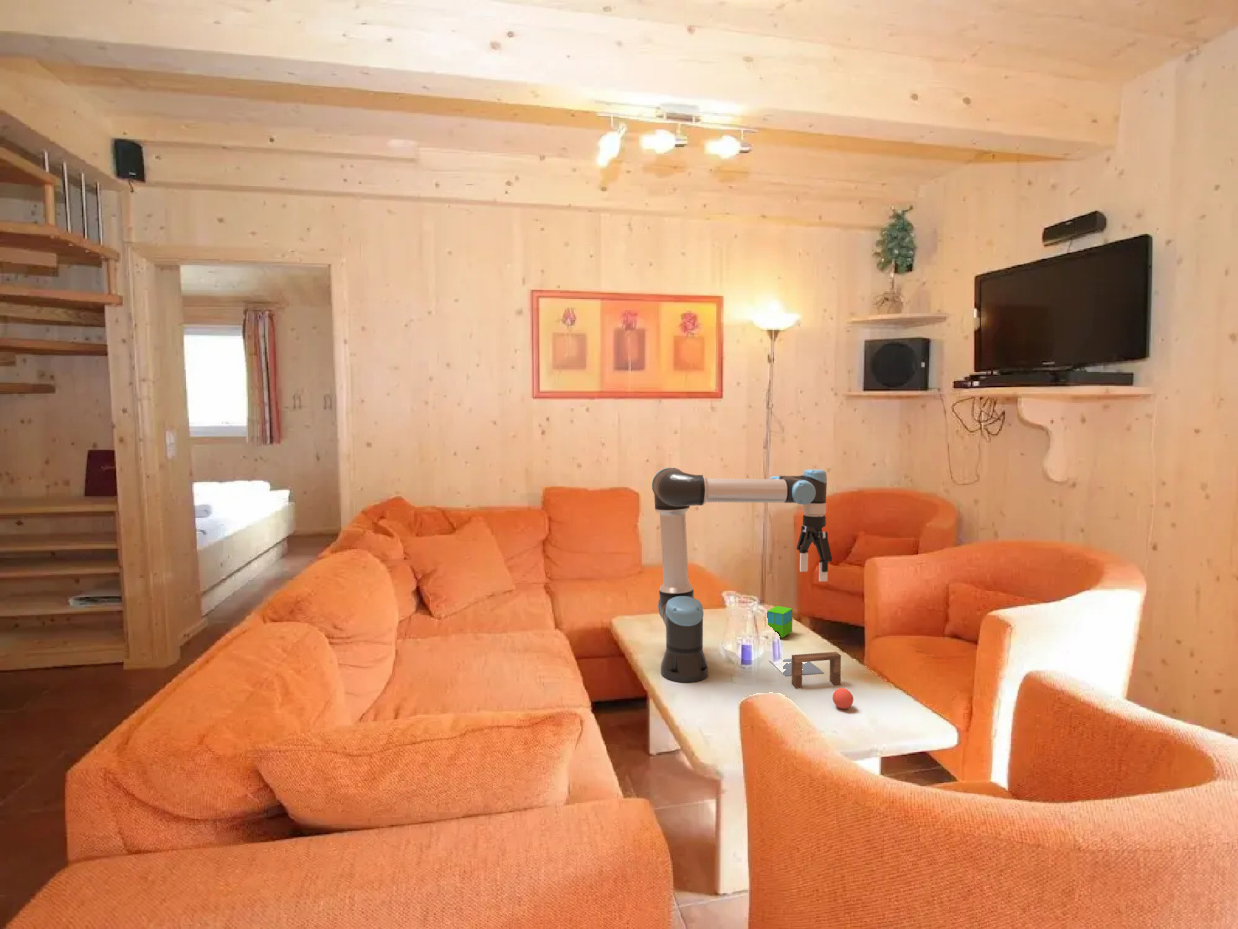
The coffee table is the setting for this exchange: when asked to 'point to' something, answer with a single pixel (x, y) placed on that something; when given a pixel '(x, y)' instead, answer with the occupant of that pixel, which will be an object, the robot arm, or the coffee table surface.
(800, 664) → the bridge
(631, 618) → the coffee table surface
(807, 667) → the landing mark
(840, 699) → the ball
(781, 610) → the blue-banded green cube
